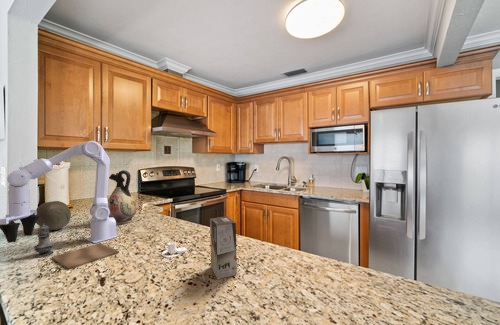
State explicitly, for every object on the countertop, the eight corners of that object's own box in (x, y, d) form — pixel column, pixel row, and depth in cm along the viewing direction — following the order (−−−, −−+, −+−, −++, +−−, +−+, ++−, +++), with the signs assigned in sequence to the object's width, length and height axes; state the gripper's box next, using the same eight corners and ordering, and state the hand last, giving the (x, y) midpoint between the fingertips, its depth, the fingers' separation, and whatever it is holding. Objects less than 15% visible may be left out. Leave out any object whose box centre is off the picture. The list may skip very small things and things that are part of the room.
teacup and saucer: (189, 251, 89) (189, 241, 89) (174, 260, 82) (174, 248, 82) (172, 248, 93) (172, 238, 93) (156, 256, 85) (156, 245, 85)
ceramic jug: (99, 225, 125) (97, 170, 124) (119, 218, 140) (118, 169, 140) (127, 226, 122) (125, 170, 122) (144, 219, 137) (143, 169, 137)
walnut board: (100, 244, 97) (100, 243, 97) (119, 252, 88) (119, 251, 88) (51, 258, 84) (51, 256, 84) (68, 269, 75) (68, 267, 75)
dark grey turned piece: (42, 258, 84) (41, 225, 84) (29, 257, 85) (28, 225, 85) (58, 251, 90) (57, 221, 89) (46, 250, 91) (45, 220, 91)
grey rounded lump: (65, 224, 128) (65, 198, 127) (75, 229, 119) (74, 200, 119) (31, 231, 116) (30, 202, 116) (39, 236, 108) (38, 205, 108)
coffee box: (237, 275, 70) (237, 222, 69) (217, 279, 67) (216, 225, 67) (228, 262, 78) (227, 215, 78) (209, 266, 76) (209, 218, 75)
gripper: (22, 199, 92) (23, 233, 92) (-12, 206, 78) (-11, 246, 78) (42, 198, 94) (43, 232, 94) (12, 205, 79) (13, 244, 79)
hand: (20, 238), depth 86 cm, fingers open, 7 cm apart
